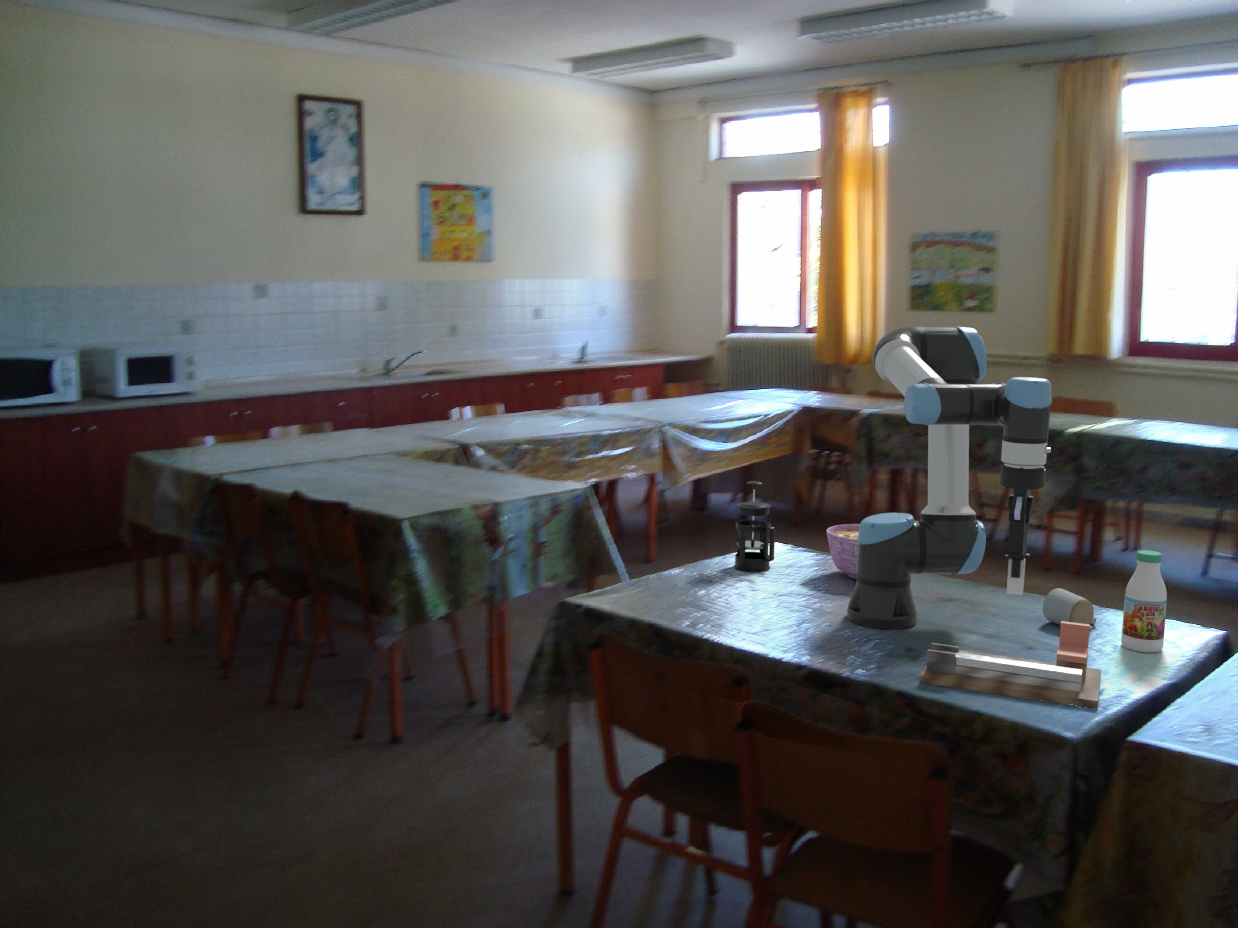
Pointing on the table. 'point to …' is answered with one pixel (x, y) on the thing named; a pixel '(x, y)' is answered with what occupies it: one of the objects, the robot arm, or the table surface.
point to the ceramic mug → (1067, 608)
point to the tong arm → (1018, 667)
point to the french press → (753, 559)
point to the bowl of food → (844, 547)
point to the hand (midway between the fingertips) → (1014, 593)
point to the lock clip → (1073, 642)
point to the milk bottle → (1145, 605)
